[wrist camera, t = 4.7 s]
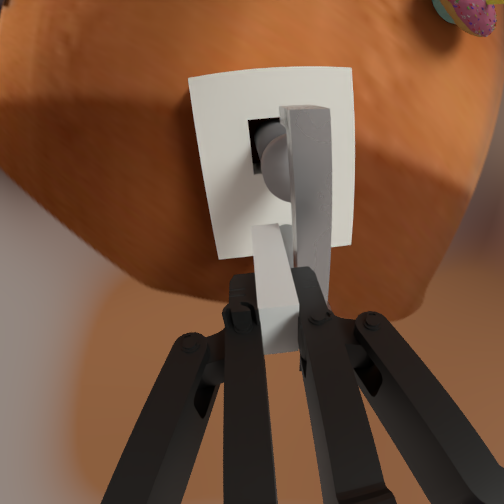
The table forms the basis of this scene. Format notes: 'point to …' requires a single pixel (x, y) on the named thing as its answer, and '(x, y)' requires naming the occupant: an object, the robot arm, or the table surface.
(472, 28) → the cupcake
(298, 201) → the clip
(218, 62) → the table surface
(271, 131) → the plug
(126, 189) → the table surface
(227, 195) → the socket block
